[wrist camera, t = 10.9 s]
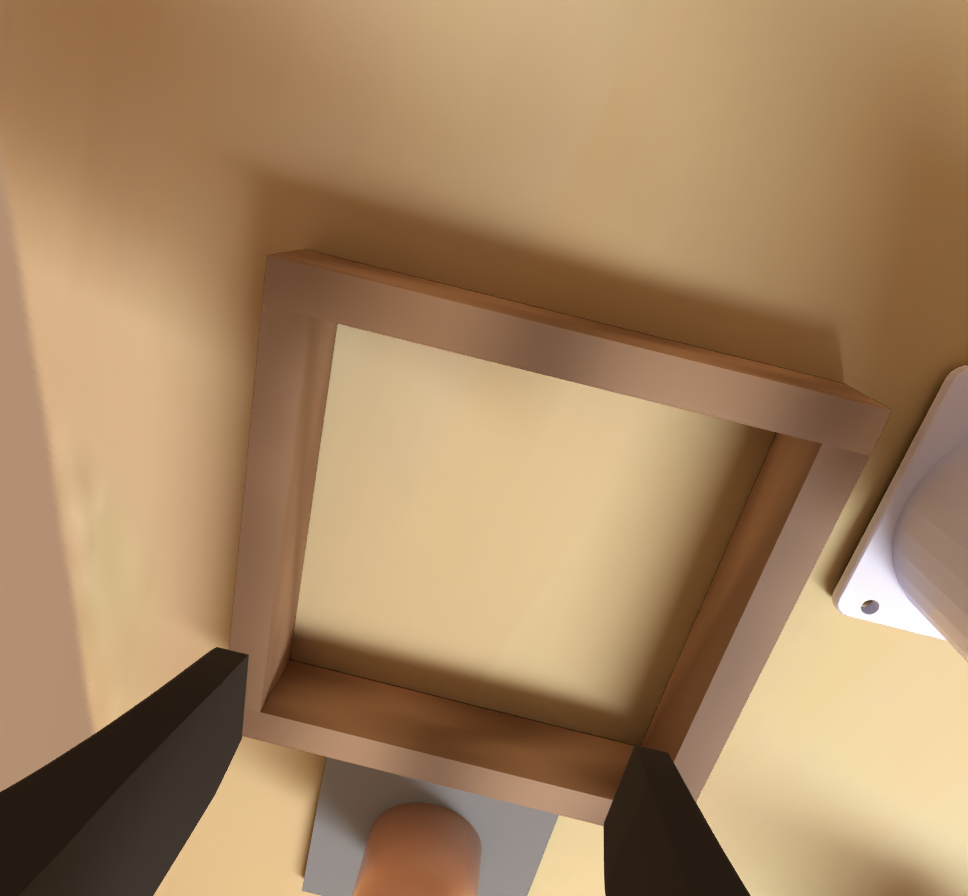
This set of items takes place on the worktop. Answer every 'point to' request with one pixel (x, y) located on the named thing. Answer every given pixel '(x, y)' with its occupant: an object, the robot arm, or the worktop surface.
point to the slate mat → (369, 792)
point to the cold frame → (569, 356)
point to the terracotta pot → (420, 854)
